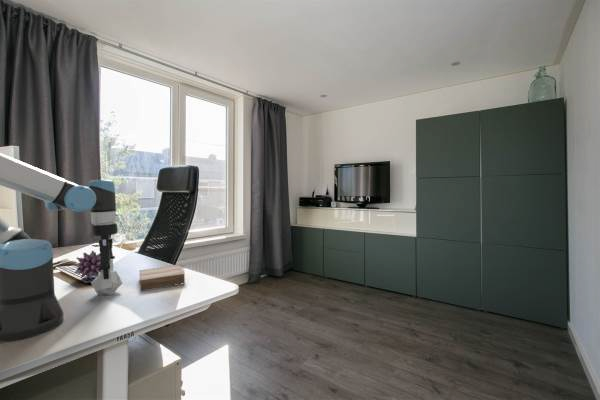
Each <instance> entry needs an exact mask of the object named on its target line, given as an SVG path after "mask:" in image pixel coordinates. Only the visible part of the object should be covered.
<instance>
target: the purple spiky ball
mask: <svg viewBox="0 0 600 400" xmlns="http://www.w3.org/2000/svg"><path fill="white" fill-rule="evenodd" d="M82 255H83V257H78V256H77V257H76V260H77V261H78V262H77V263H73V266H74V267H76V269H75V271H74V274H78V275H80V274H81V275H80V278H81V279H83V278H84V277H86V279H87V278H89V279H91V278H92V277H95V278H96V277H97V276H98V275H99V273H101V270H99V268H100V267H101V257H100V252H99V253H98V254H97V252H95V250H91V252H90V253H89V254H88V253H86V252H83V253H82ZM82 277H83V278H82Z"/></svg>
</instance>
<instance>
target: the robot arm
mask: <svg viewBox="0 0 600 400" xmlns="http://www.w3.org/2000/svg"><path fill="white" fill-rule="evenodd" d="M0 186H1V187H4V188H7V189H10V190H12V191H16V192H19V193H22V194H24V195H26V196H27V195H28V196H30V197H33V198H35V199H39V200H42V201H43V202H44V207H45V208H46V210H48V211H64V210H68V211H73V212H76V213H82V212H87V211H88V210H90V219H91V222H90V223H91V224H92V226H91V232H92V236H95V237H100V239H99V240H98V246H99V253H100V257H101V267H100V268H99V270H101V272H100V273H101V275H102V289H105V288H111V287H112V278H111V271H115V270H114V259H116V256H115V255H114V254H113V243H114V242H113V238H112V236H113V235H116V234H118V223H116V222H117V221H118V218H117V217H119V213H118V212H117V204H116V203H117V202H116V200H117V198H116V193H117V192H116V186H115V182H114V181H113V180H111V179H91V180H89V181H88V185H79V184H78V183H75V182H72V181H69V180H68V179H67V180H66V179H65V178H63V177H60V176H58V175H55V174H52V173H50V172H48V171H45V170H43V169H40V168H38V167H35V166H33V165H30V164H28V163H26V162H23V161H21V160H19V159H16V158H14V157H11V156H9V155H7V154H3V153H1V152H0ZM53 256H54V249H53V246H52V243H51V242H50V241H48V240H45V239H37V238H31V236H29V235H28V234H27V233H26V232H25V231H24V230H23V229H22V228H21V227H12V226H11V225H9V224H8V223H7V222H6V221H5V220H4V219H3V217H2V216H0V341H4V342H11V341H12V342H14V341H18V340H22V339H27V338H31V337H35V336H37V335H41V334H44V333H47V332H48V331H51V330H53V329H55V328H56V327H59V326H60V325H61V324H62V323H64V321H65V317H64V314H65V313H64V310H63V308H62V306H61V304H60V302H59V301H58V298H57V296H56V294H55V279H54V277H55V276H54V258H53Z"/></svg>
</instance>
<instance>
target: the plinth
mask: <svg viewBox="0 0 600 400" xmlns="http://www.w3.org/2000/svg"><path fill="white" fill-rule="evenodd" d="M181 283H184V284H185V273H184V271H183V270H182V268H181V266H180V265H179V264H177V265H170V266H169V265H168V266H163V267H155V268H148V269H142V270H141V269H140V270H139V285H140V291H141V292H144V291H150V290H156V289H161V287H163V288H167V287H166V286H169V287H171V286H170V285H175V284H181ZM181 285H182V284H181ZM175 286H176V285H175Z"/></svg>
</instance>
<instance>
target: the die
mask: <svg viewBox="0 0 600 400" xmlns="http://www.w3.org/2000/svg"><path fill="white" fill-rule="evenodd" d="M111 278H112V287H111V288H105V289H102V275H101V272H99V273H98V276H97V277H96V276H95V278H94V279H93V280H92V281H91V282H90V283H91V286H92V287H93V289H94V291H95V293H96V295H97V296H113V294H115V293H116V291H117V290H118V289H119V288H120V287H121V285H122V284H123V281H122V280H121V277H120V276H119V274H118V272H117V271H116V270H114V271H111Z"/></svg>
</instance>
